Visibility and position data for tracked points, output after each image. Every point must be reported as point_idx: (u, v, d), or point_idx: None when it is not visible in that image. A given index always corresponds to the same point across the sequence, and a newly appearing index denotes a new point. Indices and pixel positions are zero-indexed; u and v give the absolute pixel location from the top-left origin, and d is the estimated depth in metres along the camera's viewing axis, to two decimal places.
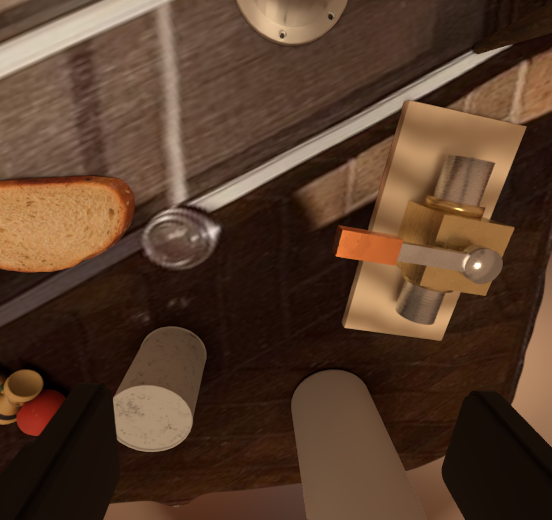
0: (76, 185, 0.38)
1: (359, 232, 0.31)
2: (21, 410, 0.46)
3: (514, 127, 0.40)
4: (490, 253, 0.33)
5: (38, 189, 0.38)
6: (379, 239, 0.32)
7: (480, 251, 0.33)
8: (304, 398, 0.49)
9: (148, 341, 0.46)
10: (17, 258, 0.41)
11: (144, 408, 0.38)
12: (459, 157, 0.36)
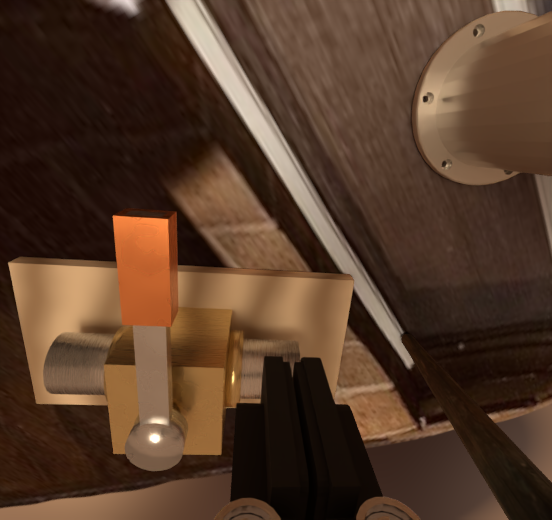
0: None
1: (169, 250, 0.17)
2: None
3: None
4: (177, 450, 0.21)
5: None
6: (164, 287, 0.18)
7: (177, 437, 0.21)
8: None
9: None
10: None
11: None
12: (298, 358, 0.28)
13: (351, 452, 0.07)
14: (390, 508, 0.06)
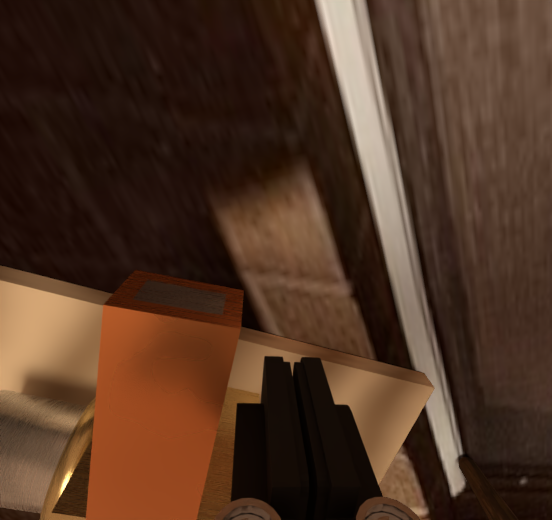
0: None
1: None
2: None
3: None
4: None
5: None
6: (195, 464, 0.08)
7: None
8: None
9: None
10: None
11: None
12: None
13: (351, 452, 0.07)
14: (390, 508, 0.06)
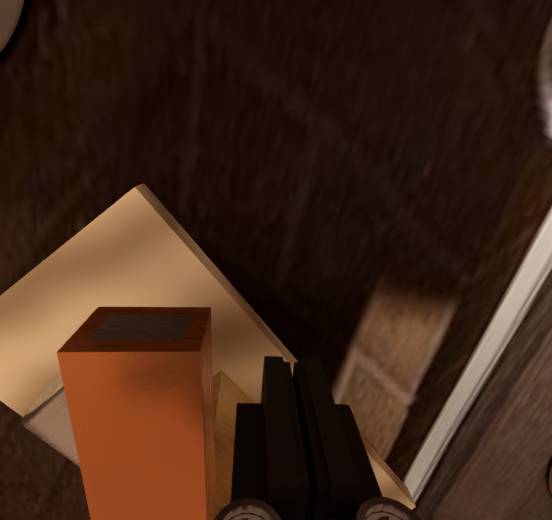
0: None
1: (203, 413, 0.07)
2: None
3: None
4: None
5: None
6: (191, 490, 0.08)
7: None
8: None
9: None
10: None
11: None
12: None
13: (351, 452, 0.07)
14: (390, 508, 0.06)
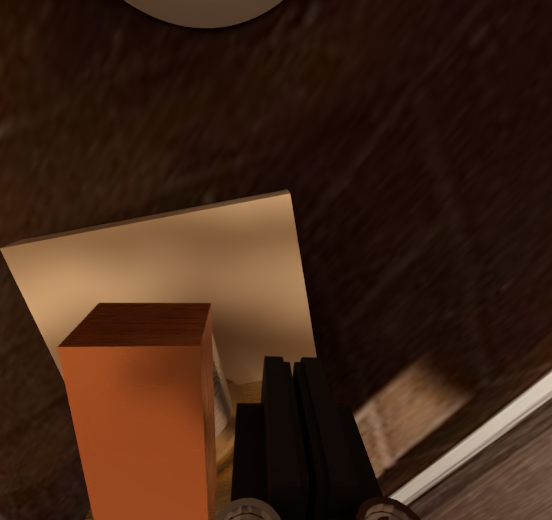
0: None
1: (203, 408, 0.07)
2: None
3: None
4: None
5: None
6: (192, 485, 0.08)
7: None
8: None
9: None
10: None
11: None
12: None
13: (351, 452, 0.07)
14: (390, 508, 0.06)
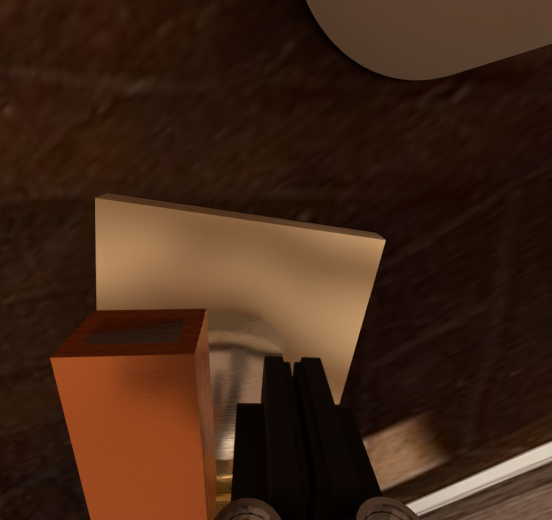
0: None
1: (200, 415, 0.07)
2: None
3: None
4: None
5: None
6: (191, 492, 0.08)
7: None
8: None
9: None
10: None
11: None
12: None
13: (351, 452, 0.07)
14: (390, 508, 0.06)
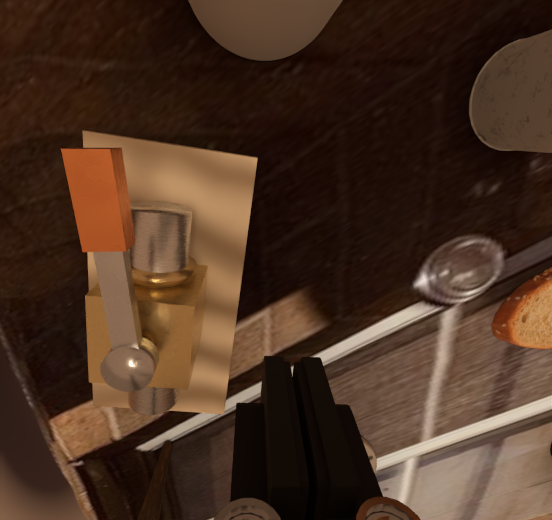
0: (546, 346, 0.39)
1: (116, 180, 0.19)
2: None
3: (106, 404, 0.39)
4: (147, 370, 0.24)
5: None
6: (115, 214, 0.20)
7: (146, 358, 0.24)
8: (330, 16, 0.25)
9: None
10: None
11: None
12: (172, 406, 0.34)
13: (351, 452, 0.07)
14: (390, 508, 0.06)
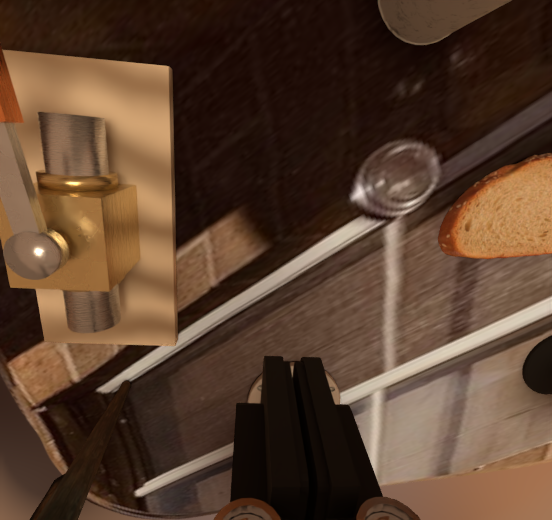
0: (493, 255, 0.38)
1: None
2: None
3: (57, 339, 0.40)
4: (50, 255, 0.24)
5: (530, 250, 0.38)
6: None
7: (47, 241, 0.24)
8: None
9: None
10: None
11: None
12: (110, 326, 0.34)
13: (351, 452, 0.07)
14: (390, 508, 0.06)
